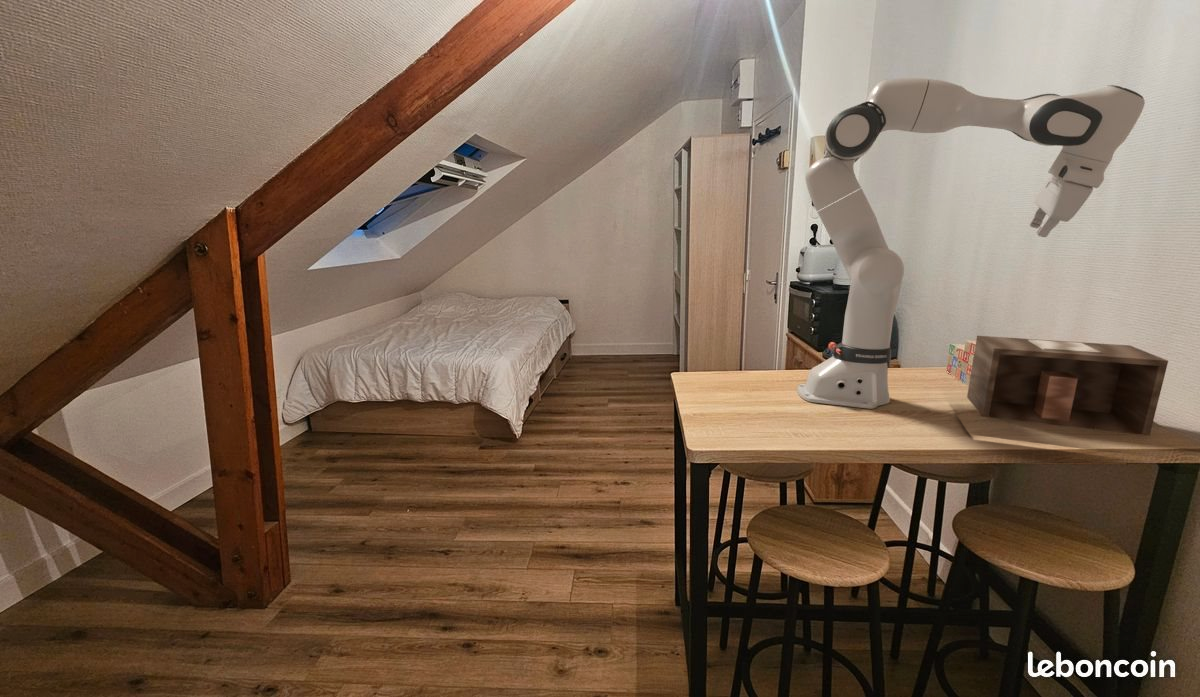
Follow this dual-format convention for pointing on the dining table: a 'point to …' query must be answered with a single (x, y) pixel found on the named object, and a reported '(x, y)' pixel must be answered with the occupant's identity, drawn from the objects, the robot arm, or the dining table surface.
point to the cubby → (1105, 375)
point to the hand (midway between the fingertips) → (1037, 231)
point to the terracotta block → (1055, 395)
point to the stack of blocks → (961, 360)
